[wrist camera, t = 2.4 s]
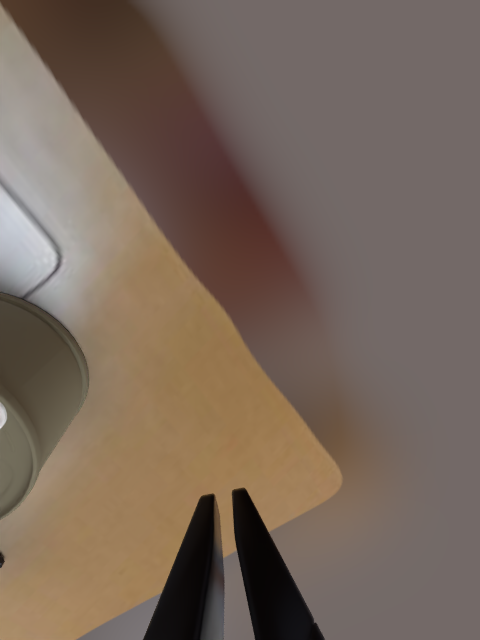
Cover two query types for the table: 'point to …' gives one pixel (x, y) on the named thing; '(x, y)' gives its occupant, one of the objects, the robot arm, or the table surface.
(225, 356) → the table surface
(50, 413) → the can
